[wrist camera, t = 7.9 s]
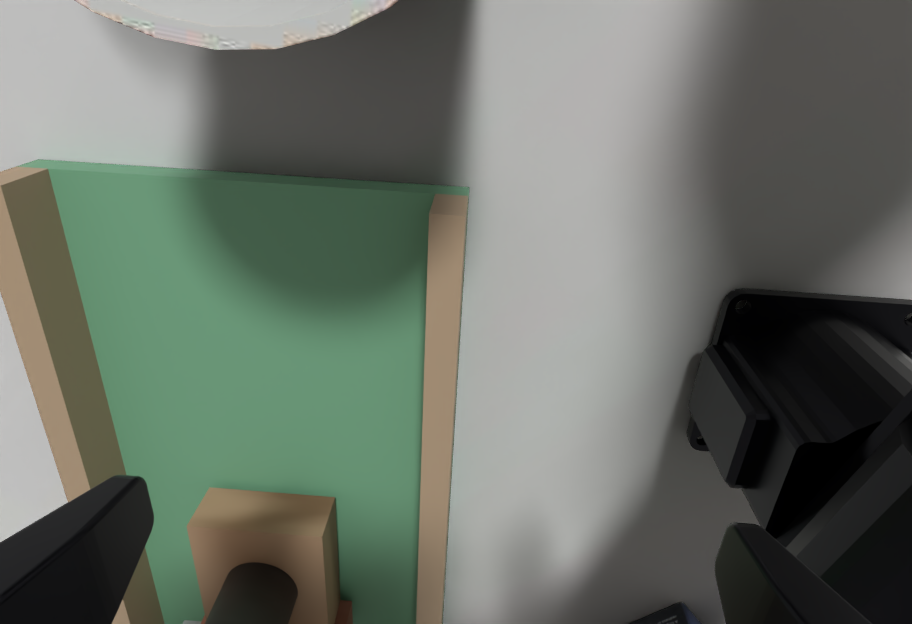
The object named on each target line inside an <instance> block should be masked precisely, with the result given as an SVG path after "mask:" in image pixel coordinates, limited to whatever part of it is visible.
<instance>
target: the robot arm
mask: <svg viewBox="0 0 912 624" xmlns="http://www.w3.org/2000/svg"><path fill="white" fill-rule="evenodd" d="M743 300H746V304H745V306H743V307H742V308H739V309H735V306H736V304H737V303H738V302H740V301H743ZM910 313H912V300H905V299H890V298H876V297H861V296H846V295H831V294H817V293H802V292H787V291H773V290H758V289H743V288H742V289H735V290H733V291H731V292H730V293H729V294H728V295H727V296H726V297H725V299H724V301H723V305H722V308H721V312H720V315H719V319H718V322H717V326H716V330H715V333H714V337H713V340H712V344H711V345H709V346H708V347H707V348H706V349H705V350H704V351H703V354H702V358H701V362H700V365H699V369H698V373H697V376H696V380H695V383H694V387H693V391H692V394H691V398H690V402H689V406H688V407H689V410H690V412H691V414H692V415H691V419H690V422H689V426H688V430H687V438H688V440H689V443H690V445H691V446H692V447H693V448H694V449H696V450H700V451H710V453H711V455H712V457H713V459H714V461H715V463H716V465H717V467H718V469H719V471H720V473H721V475H722V477H723V479H724V480H725V482H726V483H727V484H728V485H729V486H730V487H731V488H741V489H742V491H743V493H744V495H745V496H746V498H747V500H748V502H749V504H750V506H751V508H752V510H753V512H754V514H755V516H756V518H757V520H758V521H759V523H760V525H761V527H760V526H759V525H756V524H746V523H731V524H730V525H729V526H728V527H727V529H726V531H725V534H724V537H723V540H722V543H721V546H720V548H719V551H718V554H717V557H716V561H715V576H716V581H717V585H718V590H719V594H720V599H721V603H722V608H723V612H724V617H725V621H726V624H912V316H911V317H910V318H909V319H907V320H905V317H906V316H907V315H908V314H910ZM700 435H702V436H703V438H700V439H698V437H699V436H700ZM153 524H154V512H153V508H152V504H151V500H150V496H149V491H148V487H147V483H146V481H145V480H144V478H142V477H140V476H131V475H115V476H112V477H110V478H109V479H107V480H105V481H104V482H102V483H100V484H98V485H97V486H95V487H93V488H92V489H90V490H88V491H87V492H85V493H83V494H82V495H80V496H78V497H76V498H75V499H73V500H71V501H70V502H68V503H66V504H65V505H63V506H61V507H60V508H58V509H56V510H54V511H53V512H51V513H49V514H48V515H46V516H44V517H43V518H41V519H39V520H38V521H36V522H34V523H32V524H31V525H29V526H27V527H26V528H24V529H22V530H21V531H19V532H17V533H15V534H14V535H12V536H10V537H9V538H7V539H5V540H4V541H2V542H0V624H112V622H113V620H114V618H115V616H116V613H117V611H118V609H119V607H120V604H121V602H122V600H123V597H124V595H125V593H126V590H127V588H128V586H129V583H130V581H131V578H132V576H133V574H134V571H135V569H136V567H137V564H138V562H139V560H140V557H141V555H142V553H143V550H144V548H145V546H146V543H147V541H148V539H149V536H150V534H151V531H152V528H153Z"/></svg>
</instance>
